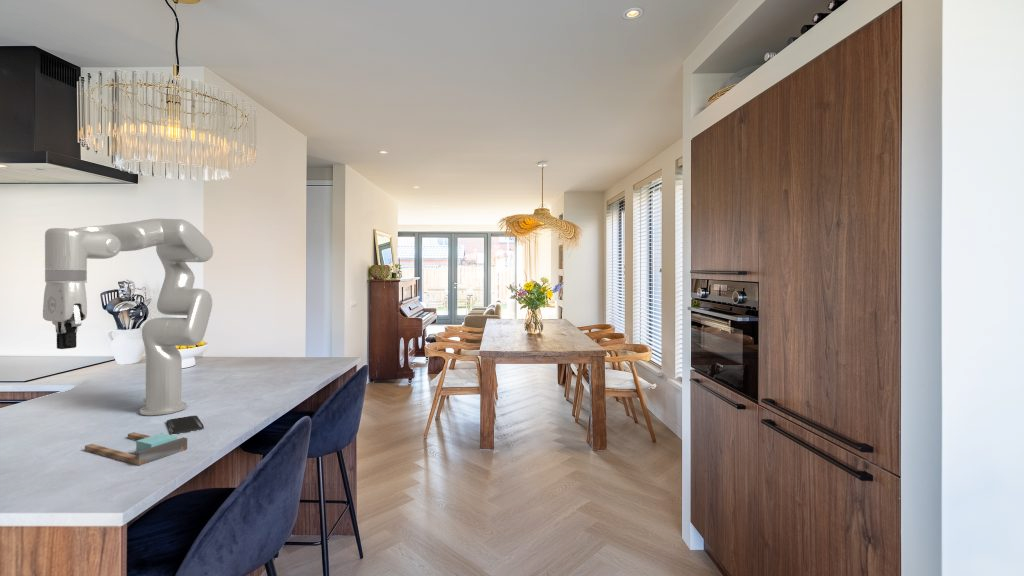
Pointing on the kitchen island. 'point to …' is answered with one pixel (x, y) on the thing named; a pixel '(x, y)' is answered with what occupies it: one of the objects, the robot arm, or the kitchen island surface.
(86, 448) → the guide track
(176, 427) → the phone
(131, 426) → the kitchen island surface
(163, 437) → the block
